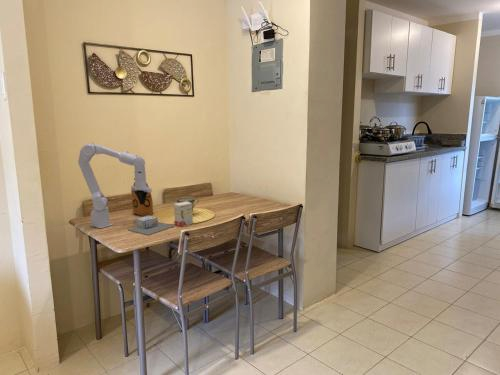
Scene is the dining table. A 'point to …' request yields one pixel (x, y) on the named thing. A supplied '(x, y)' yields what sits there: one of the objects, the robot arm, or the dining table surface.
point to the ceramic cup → (188, 199)
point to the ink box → (183, 214)
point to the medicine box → (146, 222)
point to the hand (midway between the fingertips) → (142, 204)
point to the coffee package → (142, 204)
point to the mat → (151, 229)
